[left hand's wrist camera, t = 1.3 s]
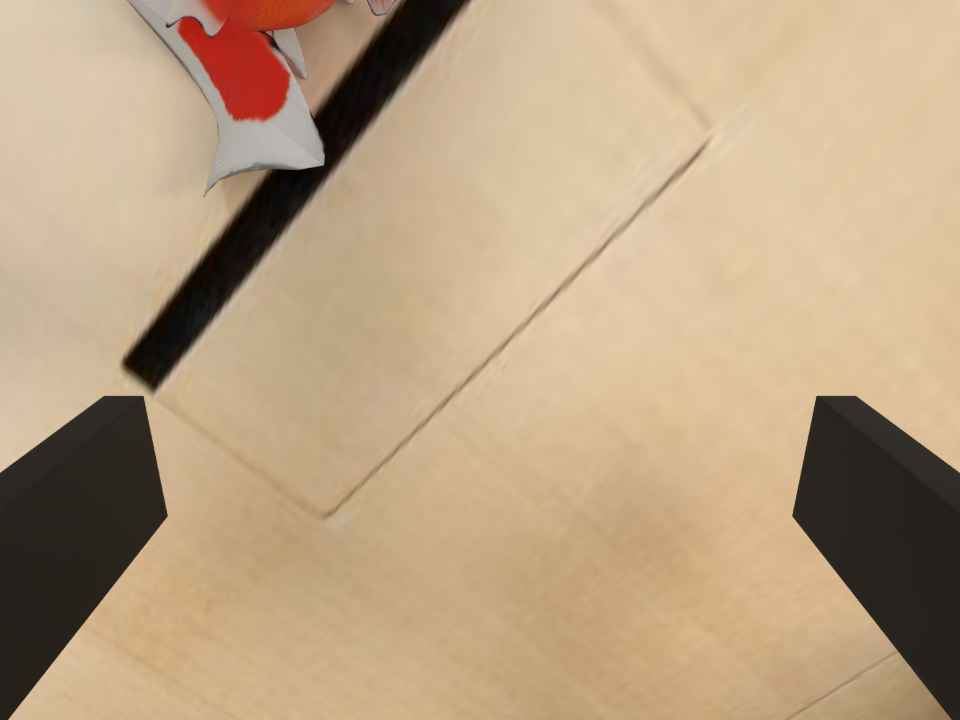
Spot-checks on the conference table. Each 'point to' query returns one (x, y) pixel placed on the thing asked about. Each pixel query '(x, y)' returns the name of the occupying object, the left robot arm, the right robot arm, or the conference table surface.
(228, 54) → the fish
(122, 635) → the conference table surface
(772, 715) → the conference table surface
